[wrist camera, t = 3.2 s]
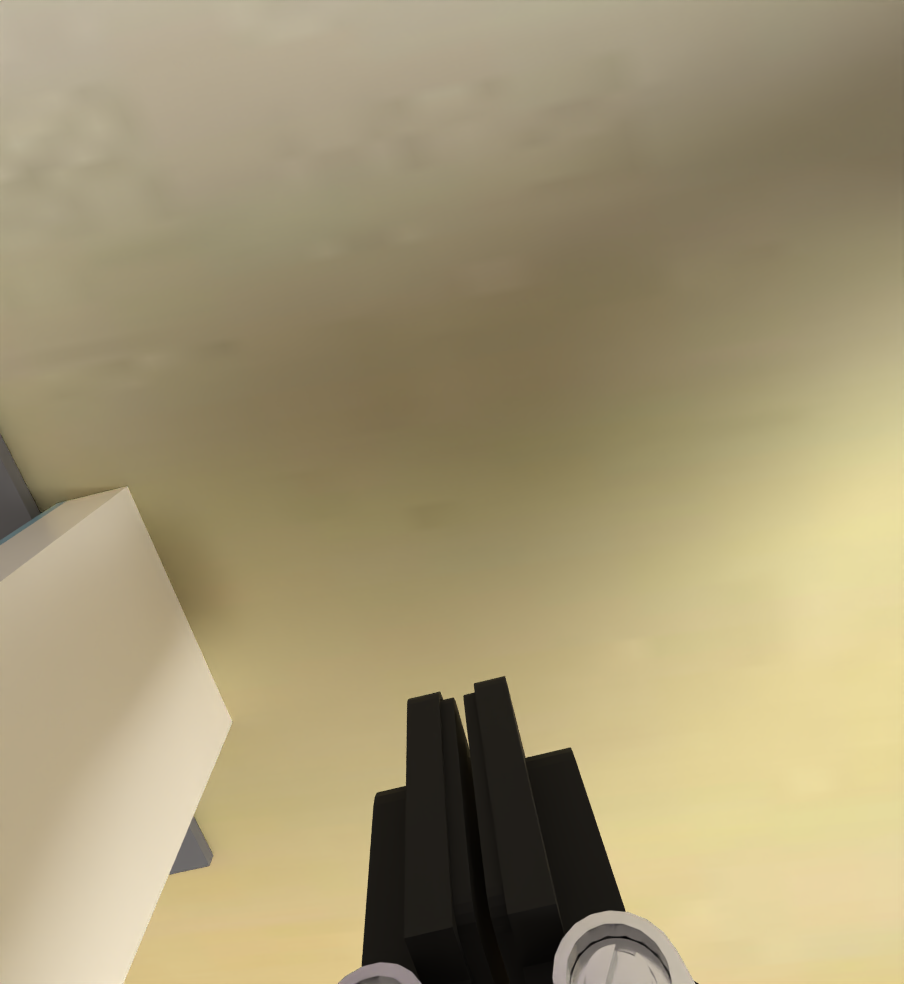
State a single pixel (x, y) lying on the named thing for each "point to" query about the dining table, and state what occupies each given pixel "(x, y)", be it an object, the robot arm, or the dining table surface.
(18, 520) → the mat
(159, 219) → the dining table surface
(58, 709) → the tile
